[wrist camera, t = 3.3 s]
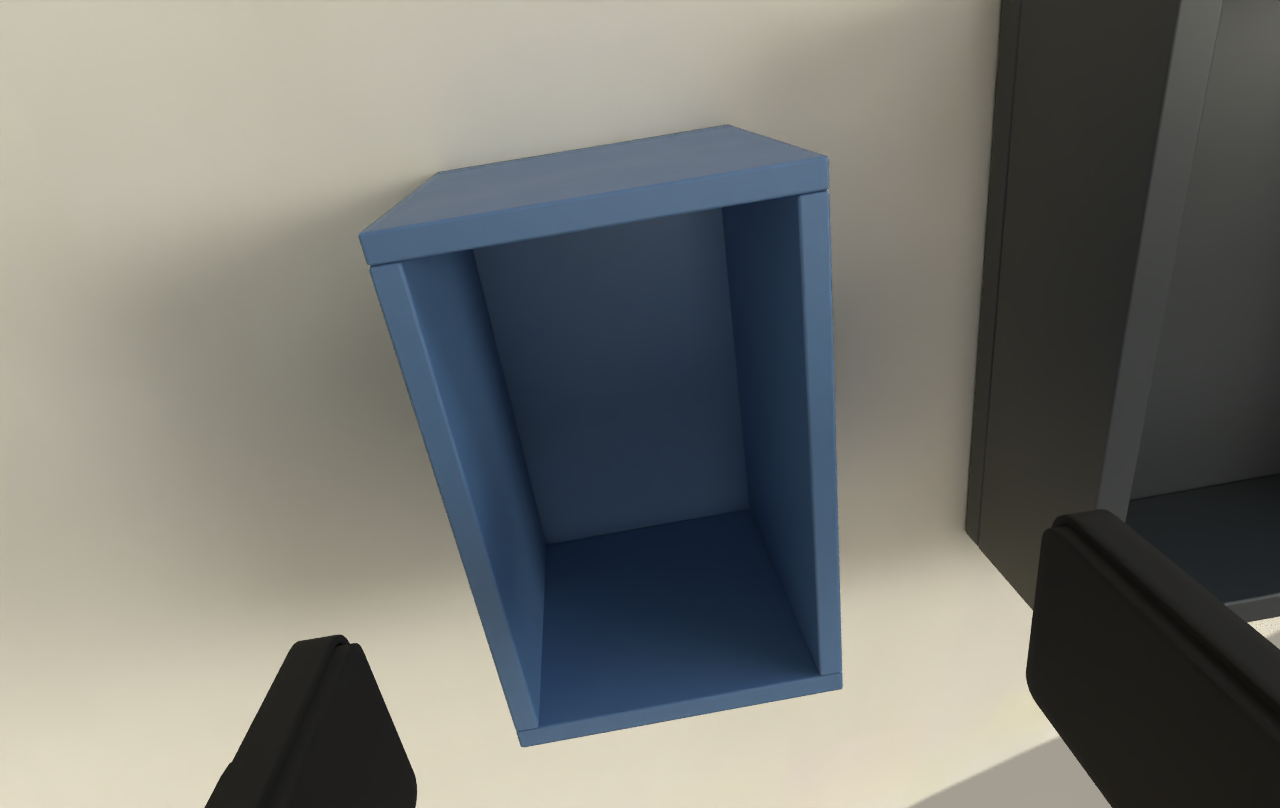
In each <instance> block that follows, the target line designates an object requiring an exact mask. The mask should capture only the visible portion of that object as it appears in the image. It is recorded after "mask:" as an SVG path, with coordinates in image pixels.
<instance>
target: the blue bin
mask: <svg viewBox="0 0 1280 808" xmlns="http://www.w3.org/2000/svg"><path fill="white" fill-rule="evenodd" d="M828 188H829V162H828V157H827V156H824V155H821V154H818V153H815V152H812V151H809V150H806V149H802V148H799V147H796V146H793V145H790V144H787V143H784V142H781V141H778V140H774V139H771V138H768V137H765V136H762V135H759V134H756V133H753V132H750V131H746V130H743V129H740V128H737V127H734V126H731V125H723V126H717V127H711V128H705V129H699V130H692V131H686V132H680V133H674V134H668V135H662V136H656V137H650V138H644V139H638V140H632V141H625V142H619V143H613V144H607V145H601V146H595V147H589V148H583V149H577V150H571V151H564V152H558V153H552V154H546V155H540V156H534V157H528V158H522V159H516V160H510V161H504V162H497V163H491V164H485V165H479V166H473V167H467V168H461V169H455V170H449V171H443V172H438V173H436V174H435V175H434V176H433V177H431V178H430V179H429V180H428V181H426V182H425V183H424V184H422V185H421V186H420V187H419V188H417V189H416V190H415V191H413V192H412V193H411V194H410V195H408V196H407V197H406V198H404V199H403V200H402V201H401V202H399V203H398V204H397V205H395V206H394V207H393V208H392V209H390V210H389V211H388V212H386V213H385V214H384V215H383V216H381V217H380V218H379V219H377V220H376V221H375V222H374V223H372V224H371V225H370V226H368V227H367V228H366V229H365V230H363V231H362V232H361V233H359V240H360V243H361V246H362V250H363V253H364V256H365V259H366V262H367V264H368V265H370V266H371V267H370V268H369V271H370V274H371V278H372V281H373V284H374V287H375V290H376V293H377V296H378V300H379V303H380V306H381V309H382V312H383V315H384V318H385V321H386V325H387V328H388V331H389V334H390V337H391V340H392V343H393V347H394V350H395V353H396V356H397V359H398V362H399V365H400V369H401V372H402V375H403V378H404V381H405V384H406V387H407V390H408V394H409V397H410V400H411V403H412V406H413V409H414V412H415V416H416V419H417V422H418V425H419V428H420V431H421V434H422V437H423V441H424V444H425V447H426V450H427V453H428V456H429V459H430V463H431V466H432V469H433V472H434V475H435V478H436V481H437V484H438V488H439V491H440V494H441V497H442V500H443V503H444V506H445V510H446V513H447V516H448V519H449V522H450V525H451V528H452V532H453V535H454V538H455V541H456V544H457V547H458V550H459V553H460V557H461V560H462V563H463V566H464V569H465V572H466V575H467V579H468V582H469V585H470V588H471V591H472V594H473V597H474V600H475V604H476V607H477V610H478V613H479V616H480V619H481V622H482V626H483V629H484V632H485V635H486V638H487V641H488V644H489V648H490V651H491V654H492V657H493V660H494V663H495V666H496V669H497V673H498V676H499V679H500V682H501V685H502V688H503V691H504V695H505V698H506V701H507V704H508V707H509V710H510V713H511V716H512V720H513V723H514V726H515V729H516V730H517V735H518V739H519V742H520V745H521V747H528V746H534V745H539V744H545V743H550V742H555V741H561V740H566V739H572V738H577V737H583V736H588V735H594V734H599V733H605V732H610V731H615V730H621V729H626V728H632V727H637V726H643V725H648V724H654V723H659V722H664V721H670V720H675V719H681V718H686V717H692V716H697V715H703V714H708V713H713V712H719V711H724V710H730V709H735V708H741V707H746V706H752V705H757V704H762V703H768V702H773V701H779V700H784V699H790V698H795V697H801V696H806V695H812V694H817V693H822V692H828V691H833V690H839V689H842V687H843V684H842V649H841V612H840V574H839V537H838V500H837V463H836V425H835V388H834V351H833V314H832V276H831V239H830V202H829V192H828V191H827V189H828Z"/></svg>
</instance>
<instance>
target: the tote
mask: <svg viewBox="0 0 1280 808" xmlns="http://www.w3.org/2000/svg"><path fill="white" fill-rule="evenodd" d="M1096 509H1105V510H1108V511H1110V512H1111V513H1113V514H1114V515H1116V516H1117V517H1118V518H1119V519H1121V520H1122V521H1123V522H1124V523H1126V524H1127V525H1128V526H1129V527H1130V528H1132V529H1133V530H1134V531H1135V532H1137V533H1138V534H1139V535H1140V536H1141V537H1143V538H1144V539H1145V540H1146V541H1148V542H1149V543H1150V544H1151V545H1152V546H1154V547H1155V548H1156V549H1157V550H1159V551H1160V552H1161V553H1162V554H1163V555H1165V556H1166V557H1167V558H1168V559H1170V560H1171V561H1172V562H1173V563H1174V564H1176V565H1177V566H1178V567H1179V568H1181V569H1182V570H1183V571H1184V572H1185V573H1187V574H1188V575H1189V576H1190V577H1192V578H1193V579H1194V580H1195V581H1196V582H1198V583H1199V584H1200V585H1201V586H1203V587H1204V588H1205V589H1206V590H1207V591H1209V592H1210V593H1211V594H1212V595H1214V596H1215V597H1216V598H1217V599H1218V600H1220V601H1221V602H1222V603H1223V604H1225V605H1226V606H1227V607H1228V608H1229V609H1231V610H1232V611H1233V612H1234V613H1236V614H1237V615H1238V616H1239V617H1240V618H1242V619H1243V620H1244V621H1245V622H1252V621H1257V620H1262V619H1268V618H1273V617H1279V616H1280V0H1003V5H1002V19H1001V34H1000V48H999V62H998V77H997V91H996V105H995V120H994V134H993V148H992V163H991V177H990V191H989V206H988V220H987V235H986V249H985V263H984V278H983V292H982V306H981V321H980V335H979V349H978V364H977V378H976V392H975V407H974V421H973V436H972V450H971V464H970V479H969V493H968V507H967V522H966V533H967V534H968V535H969V537H970V538H971V539H972V540H973V541H974V542H975V544H976V545H977V546H979V549H980V550H981V551H982V552H983V553H984V555H985V556H986V557H987V558H988V559H989V560H990V561H991V563H992V564H993V565H994V566H995V567H996V568H997V570H998V571H999V572H1000V573H1001V574H1002V575H1003V576H1004V578H1005V579H1006V580H1007V581H1008V582H1009V583H1010V585H1011V586H1012V587H1013V588H1014V589H1015V590H1016V591H1017V593H1018V594H1019V595H1020V596H1021V597H1022V598H1023V599H1024V601H1025V602H1026V603H1027V604H1028V605H1029V606H1030V608H1031V609H1032V610H1033V608H1034V600H1035V591H1036V583H1037V574H1038V566H1039V557H1040V549H1041V540H1042V535H1043V533H1044V531H1045V530H1046V529H1049V528H1052V524H1053V521H1054V520H1055V519H1056V517H1058V516H1061V515H1066V514H1072V513H1078V512H1084V511H1090V510H1096Z"/></svg>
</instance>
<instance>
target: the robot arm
mask: <svg viewBox="0 0 1280 808" xmlns="http://www.w3.org/2000/svg"><path fill="white" fill-rule="evenodd" d="M1026 679H1027V684H1028V687H1029V690H1030V693H1031V695H1032V697H1033V699H1034V700H1035V702H1036V703H1037V705H1038V706H1039V708H1040V709H1041V710H1042V712H1043V713H1044V714H1045V716H1046V717H1047V719H1048V720H1049V721H1050V723H1051V724H1052V725H1053V727H1054V728H1055V730H1056V731H1057V732H1058V734H1059V735H1060V736H1061V738H1062V739H1063V741H1064V742H1065V743H1066V745H1067V746H1068V747H1069V749H1070V750H1071V751H1072V753H1073V754H1074V756H1075V757H1076V758H1077V760H1078V761H1079V763H1080V764H1081V765H1082V767H1083V768H1084V769H1085V771H1086V772H1087V774H1088V775H1089V776H1090V778H1091V779H1092V780H1093V782H1094V783H1095V785H1096V786H1097V787H1098V789H1099V790H1100V791H1101V793H1102V794H1103V795H1104V797H1105V798H1106V800H1107V801H1108V802H1109V804H1110V805H1111V807H1112V808H1280V650H1279V649H1278V648H1277V647H1276V646H1275V645H1273V644H1272V643H1271V642H1270V641H1269V640H1267V639H1266V638H1265V637H1264V636H1262V635H1261V634H1260V633H1259V632H1258V631H1256V630H1255V629H1254V628H1253V627H1251V626H1250V625H1249V624H1248V623H1247V622H1245V621H1244V620H1243V619H1242V618H1240V617H1239V616H1238V615H1237V614H1236V613H1234V612H1233V611H1232V610H1231V609H1229V608H1228V607H1227V606H1226V605H1225V604H1223V603H1222V602H1221V601H1220V600H1218V599H1217V598H1216V597H1215V596H1214V595H1212V594H1211V593H1210V592H1209V591H1207V590H1206V589H1205V588H1204V587H1203V586H1201V585H1200V584H1199V583H1198V582H1196V581H1195V580H1194V579H1193V578H1192V577H1190V576H1189V575H1188V574H1187V573H1185V572H1184V571H1183V570H1182V569H1181V568H1179V567H1178V566H1177V565H1176V564H1174V563H1173V562H1172V561H1171V560H1170V559H1168V558H1167V557H1166V556H1165V555H1163V554H1162V553H1161V552H1160V551H1159V550H1157V549H1156V548H1155V547H1154V546H1152V545H1151V544H1150V543H1149V542H1148V541H1146V540H1145V539H1144V538H1143V537H1141V536H1140V535H1139V534H1138V533H1137V532H1135V531H1134V530H1133V529H1132V528H1130V527H1129V526H1128V525H1127V524H1126V523H1124V522H1123V521H1122V520H1121V519H1119V518H1118V517H1117V516H1116V515H1114V514H1113V513H1111V512H1110V511H1108V510H1105V509H1096V510H1090V511H1084V512H1078V513H1072V514H1066V515H1061V516H1058V517H1056V519H1055V520H1054V521H1053V524H1052V528H1049V529H1046V530H1045V531H1044V533H1043V535H1042V540H1041V549H1040V557H1039V566H1038V574H1037V583H1036V591H1035V600H1034V608H1033V617H1032V625H1031V634H1030V642H1029V651H1028V659H1027V668H1026ZM416 800H417V784H416V778H415V774H414V772H413V769H412V767H411V765H410V762H409V760H408V757H407V755H406V752H405V750H404V748H403V745H402V743H401V740H400V738H399V736H398V733H397V731H396V728H395V726H394V724H393V721H392V719H391V716H390V714H389V712H388V709H387V707H386V704H385V702H384V700H383V697H382V695H381V692H380V690H379V688H378V685H377V683H376V680H375V678H374V675H373V673H372V671H371V668H370V666H369V663H368V661H367V659H366V656H365V654H364V651H363V649H362V648H361V646H360V645H359V644H358V643H352V644H349V642H348V640H347V638H345V637H344V636H343V635H333V636H327V637H321V638H315V639H309V640H303V641H298V642H297V643H295V644H294V645H293V646H292V648H291V649H290V651H289V652H288V654H287V656H286V658H285V660H284V662H283V664H282V666H281V668H280V670H279V672H278V674H277V676H276V678H275V680H274V682H273V683H272V685H271V687H270V689H269V691H268V693H267V695H266V697H265V699H264V701H263V703H262V705H261V707H260V709H259V711H258V713H257V714H256V716H255V718H254V720H253V722H252V724H251V726H250V728H249V730H248V732H247V734H246V736H245V738H244V740H243V742H242V744H241V745H240V747H239V749H238V751H237V753H236V755H235V757H234V759H233V761H232V762H231V763H230V764H229V765H228V767H227V768H226V770H225V771H224V773H223V774H222V776H221V777H220V779H219V781H218V783H217V785H216V787H215V789H214V791H213V793H212V795H211V796H210V798H209V800H208V802H207V804H206V806H205V808H415V806H416Z"/></svg>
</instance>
